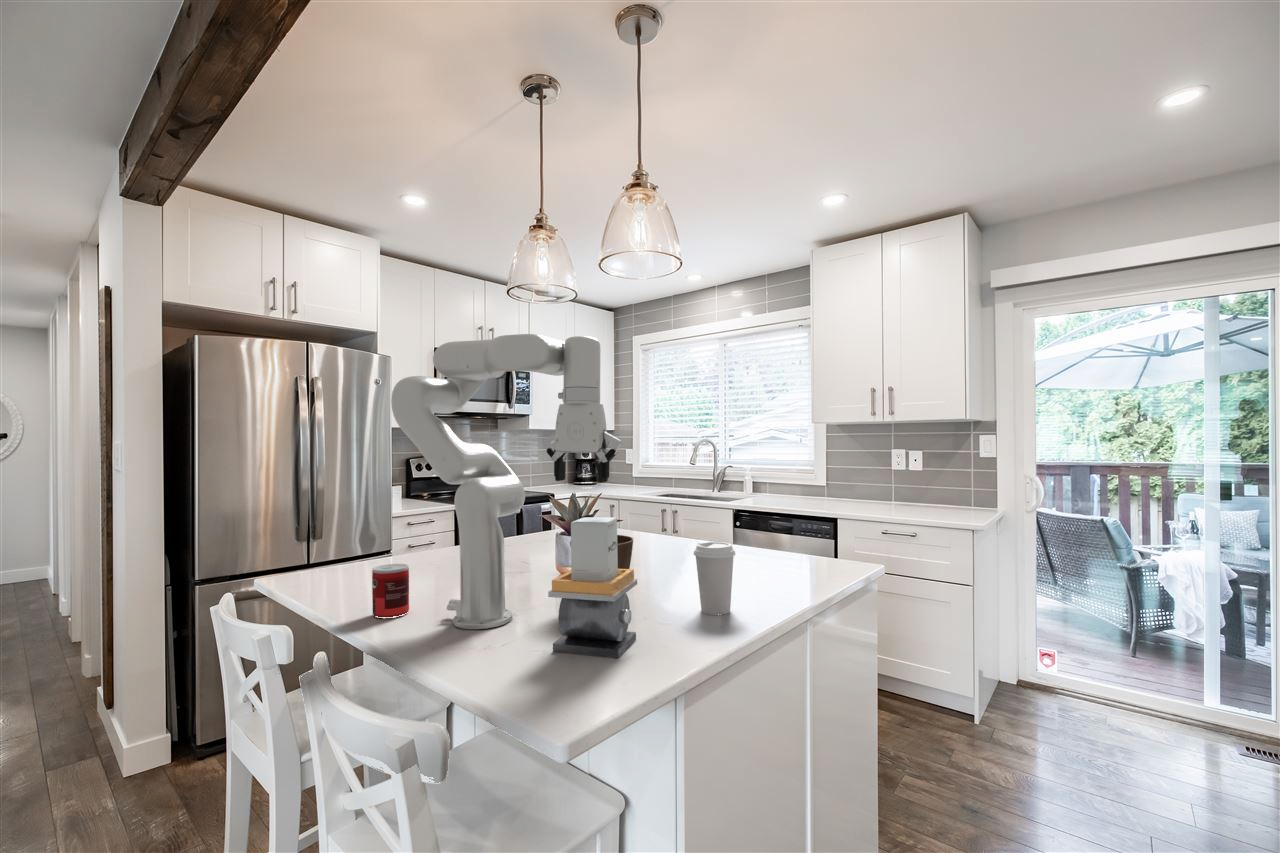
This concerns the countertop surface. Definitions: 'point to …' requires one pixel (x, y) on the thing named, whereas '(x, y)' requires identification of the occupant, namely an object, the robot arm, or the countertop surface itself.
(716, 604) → the coffee cup
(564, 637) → the tray on grey cylinder
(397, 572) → the canned food
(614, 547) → the supplement box
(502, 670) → the countertop surface
